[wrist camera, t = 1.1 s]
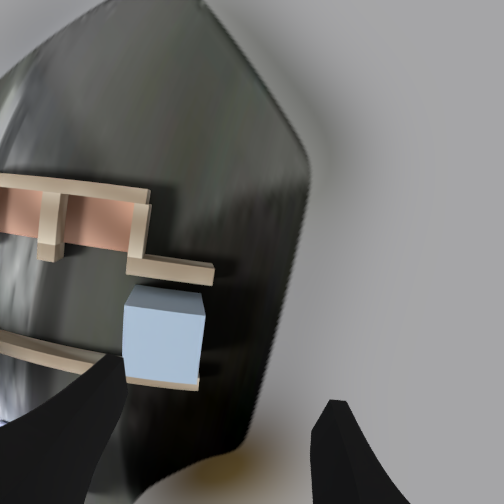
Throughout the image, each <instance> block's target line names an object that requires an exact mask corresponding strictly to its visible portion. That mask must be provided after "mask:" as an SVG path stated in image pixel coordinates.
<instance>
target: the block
mask: <svg viewBox="0 0 504 504" xmlns="http://www.w3.org/2000/svg"><path fill="white" fill-rule="evenodd" d="M205 317H206V315H205V311H204V306H203V301H202V296H201V293H194V292H186V291H179V290H171V289H164V288H157V287H150V286H143V285H135V286H134V288H133V290H132V292H131V294H130V296H129V297H128V299H127V301H126V303H125V305H124V321H123V348H122V357H123V358H124V366H125V374H126V376H128V377H135V378H142V379H149V380H157V381H165V382H174V383H184V384H195V385H197V378H198V370H199V362H200V354H201V346H202V339H203V331H204V324H205Z"/></svg>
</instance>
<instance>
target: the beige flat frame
mask: <svg viewBox="0 0 504 504" xmlns="http://www.w3.org/2000/svg"><path fill="white" fill-rule="evenodd" d="M150 193H151V190H148V189H142V188H134V187H127V186H119V185H111V184H103V183H95V182H87V181H78V180H69V179H59V178H50V177H39V176H29V175H17V174H5V173H0V232H3V233H9V234H15V235H21V236H27V237H34V238H38V245H37V259H38V260H44V261H50V262H56V261H58V260H60V259H61V258H63V257H64V245H65V243H71V244H78V245H84V246H91V247H97V248H104V249H111V250H117V251H124V252H128V257H127V267H126V274H129V275H136V276H143V277H150V278H157V279H164V280H171V281H178V282H186V283H193V284H201V285H209V286H212V284H213V277H214V271H215V268H214V266H213V264H212V263H206V262H199V261H192V260H185V259H178V258H171V257H163V256H157V255H150V254H145V252H146V244H147V237H148V229H149V222H150V215H151V209H152V205H151V204H149V200H150ZM0 353H1V354H4V355H8V356H11V357H14V358H18V359H21V360H25V361H28V362H32V363H35V364H39V365H43V366H47V367H51V368H55V369H59V370H64V371H68V372H73V373H77V374H83V373H84V372H86V371H87V370H88V369H89V368H90V367H92V366H93V365H94V364H95V363H96V362H97V361H99V360H100V359H101V358H102V357H103V356H104V355H106V354H105V353H99V352H94V351H89V350H84V349H79V348H74V347H69V346H64V345H60V344H55V343H51V342H47V341H43V340H38V339H34V338H30V337H27V336H23V335H19V334H15V333H12V332H8V331H5V330H1V329H0ZM116 356H117V355H116ZM119 357H122V356H119ZM126 382H127V383H132V384H139V385H147V386H154V387H162V388H171V389H181V390H192V391H198V386H199V371H198V378H197V385H195V384H184V383H174V382H165V381H157V380H149V379H142V378H135V377H128V376H126Z"/></svg>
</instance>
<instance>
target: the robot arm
mask: <svg viewBox="0 0 504 504" xmlns="http://www.w3.org/2000/svg"><path fill="white" fill-rule="evenodd" d="M127 396H128V389H127V382H126V374H125V366H124V358H123V357H119V356H116V355H113V354H110V353H107V354H106V355H104V356H103V357H102V358H101V359H100V360H99V361H97V362H96V363H95V364H94V365H93V366H92V367H90V368H89V369H88V370H87V371H86V372H84V373H83V374H82V375H81V376H80V377H78V378H77V379H76V380H75V381H73V382H72V383H71V384H69V385H68V386H67V387H66V388H64V389H63V390H62V391H60V392H59V393H58V394H56V395H55V396H53V397H52V398H50V399H49V400H48V401H46V402H45V403H43V404H42V405H40V406H39V407H37V408H35V409H34V410H32V411H30V412H29V413H27V414H25V415H23V416H21V417H19V418H17V419H15V420H13V421H11V422H9V423H4V422H2V421H0V504H84V501H85V498H86V494H87V491H88V488H89V485H90V481H91V478H92V475H93V472H94V470H95V467H96V465H97V463H98V460H99V458H100V456H101V454H102V452H103V450H104V448H105V446H106V444H107V442H108V440H109V438H110V436H111V434H112V432H113V430H114V428H115V426H116V424H117V422H118V420H119V418H120V416H121V413H122V410H123V407H124V404H125V401H126V399H127ZM310 463H311V477H312V494H313V504H410V503H409V502H408V500H407V499H406V498H405V497H404V496H403V495H402V493H401V492H400V491H399V490H398V488H397V487H396V486H395V484H394V483H393V482H392V481H391V479H390V478H389V476H388V475H387V473H386V472H385V470H384V469H383V467H382V466H381V464H380V462H379V461H378V459H377V458H376V456H375V454H374V452H373V451H372V449H371V447H370V446H369V444H368V442H367V440H366V438H365V437H364V435H363V433H362V431H361V429H360V427H359V425H358V423H357V421H356V419H355V417H354V415H353V413H352V411H351V409H350V408H349V405H348V403H347V402H346V401H340V400H329V402H328V403H327V405H326V407H325V409H324V411H323V412H322V414H321V416H320V417H319V419H318V421H317V422H316V424H315V426H314V427H313V429H312V431H311V446H310Z"/></svg>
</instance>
